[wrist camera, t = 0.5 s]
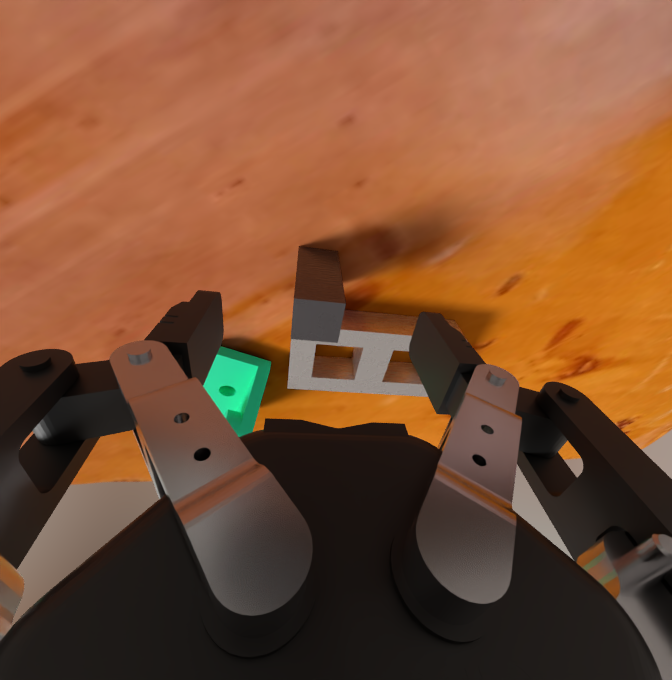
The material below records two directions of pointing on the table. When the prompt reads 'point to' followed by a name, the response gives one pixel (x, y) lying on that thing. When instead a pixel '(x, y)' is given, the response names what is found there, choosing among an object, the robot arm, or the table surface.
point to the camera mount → (237, 387)
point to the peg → (318, 296)
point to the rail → (360, 357)
